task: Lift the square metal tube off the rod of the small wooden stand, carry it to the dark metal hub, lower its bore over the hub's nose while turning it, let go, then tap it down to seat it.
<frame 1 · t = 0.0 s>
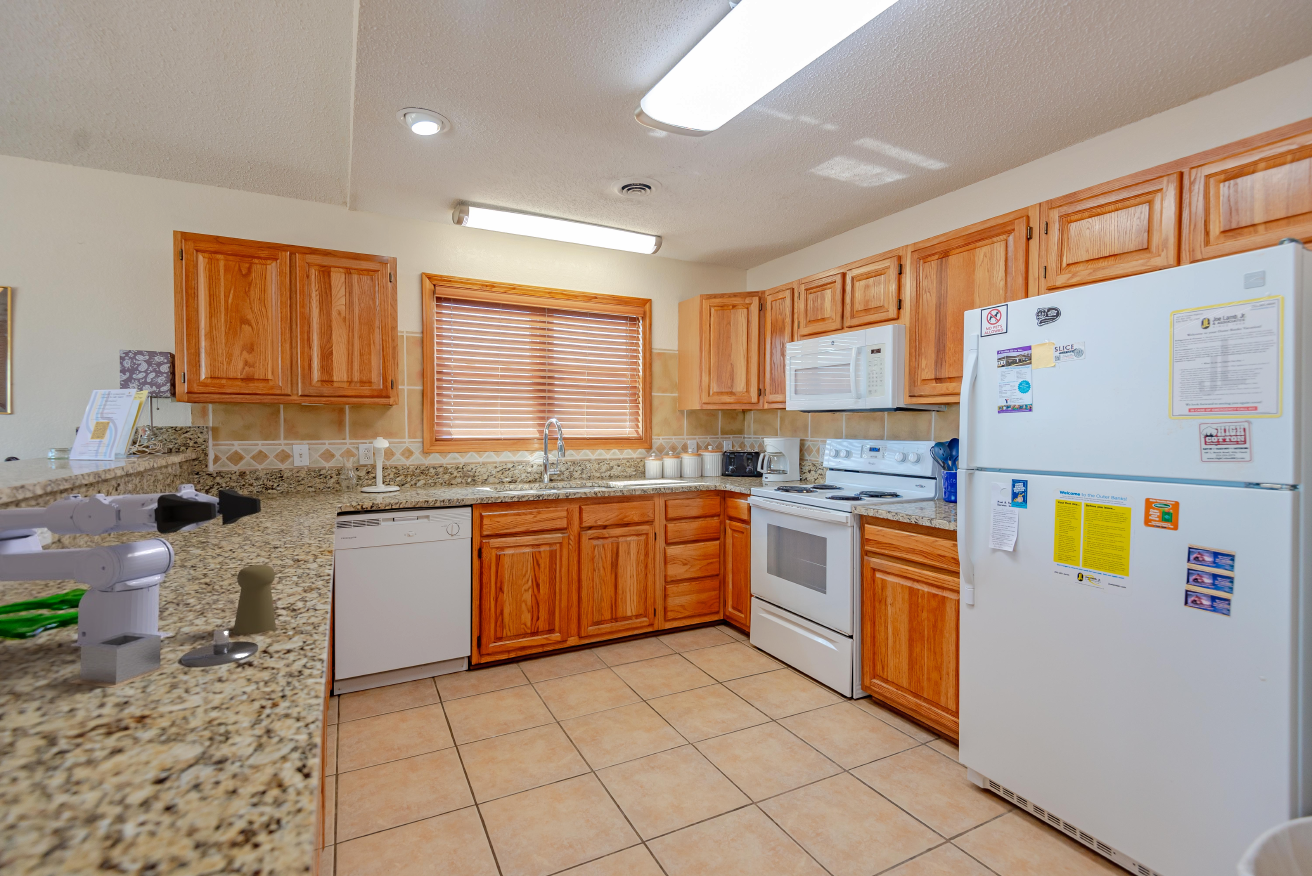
hand: (237, 508, 88), 22 cm above the counter, tool horizontal, fingers open, 7 cm apart
cork: (254, 633, 98), on the counter
square metal tube: (121, 674, 79), point 1 cm above the counter, touching stand
stand: (121, 678, 79), on the counter
hub: (220, 658, 86), on the counter
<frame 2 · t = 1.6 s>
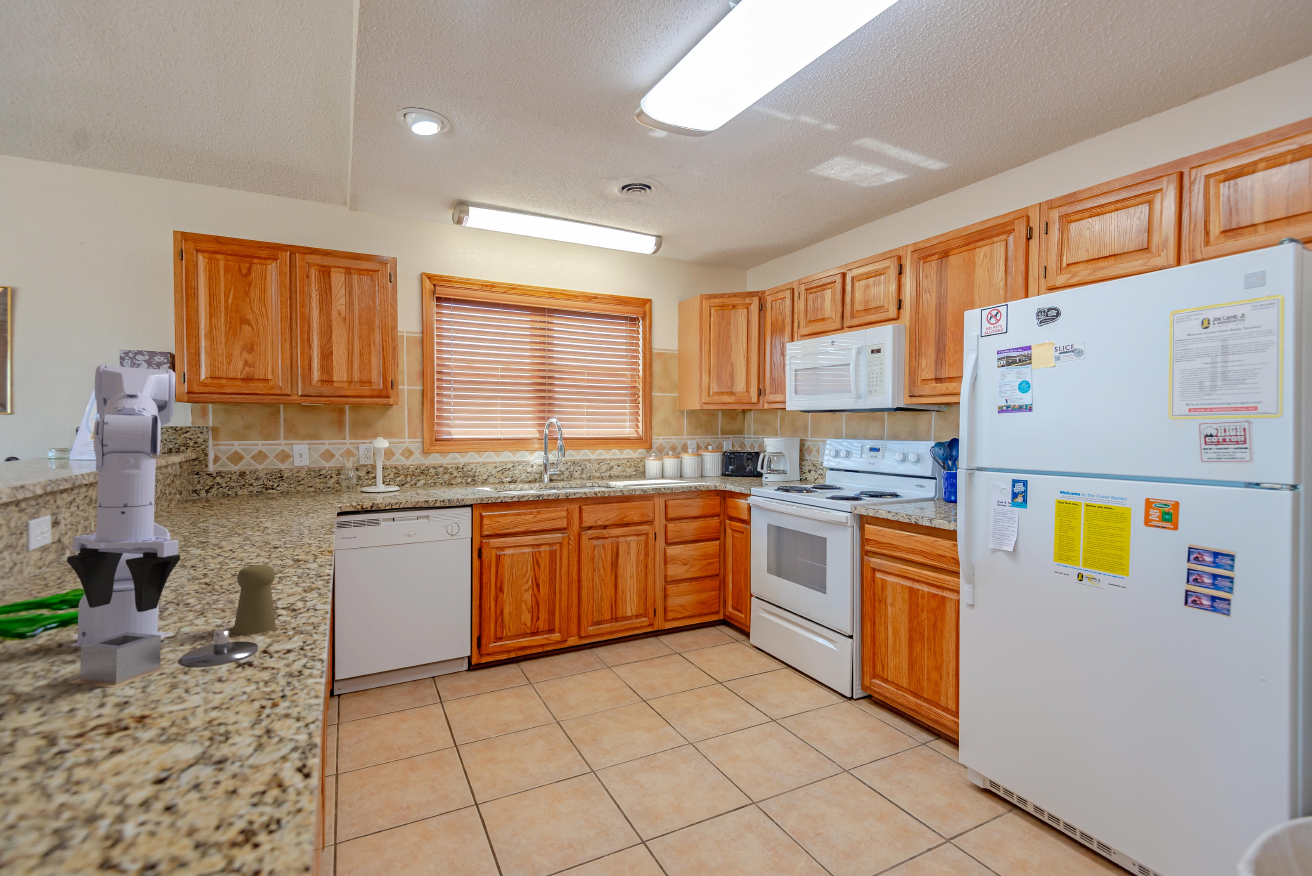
hand: (123, 607, 79), 9 cm above the counter, tool pointing down, fingers open, 7 cm apart
nothing on the counter moved.
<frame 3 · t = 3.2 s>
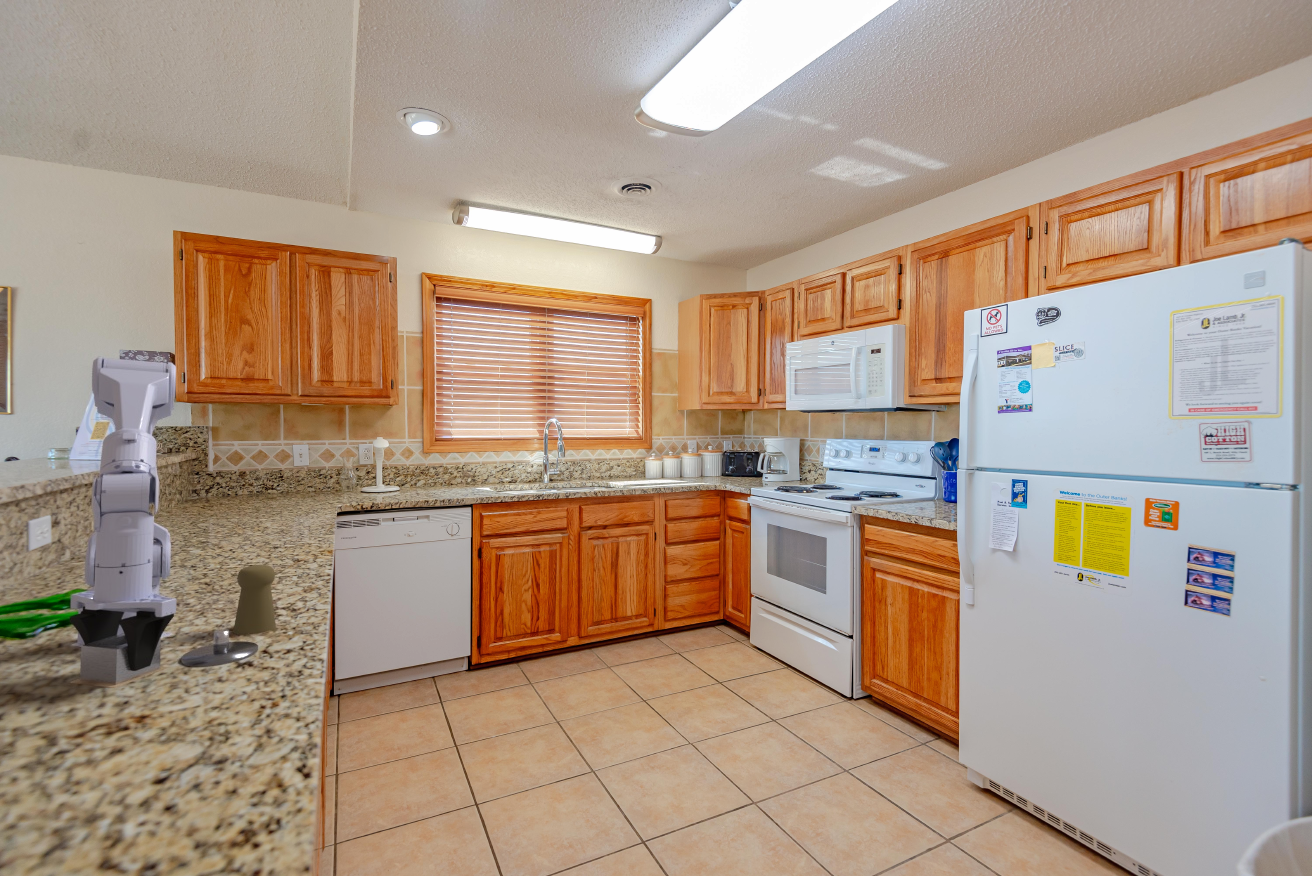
hand: (121, 666, 79), 2 cm above the counter, tool pointing down, fingers closed on square metal tube, 6 cm apart
square metal tube: (121, 674, 79), point 1 cm above the counter, touching gripper, stand
everything else where it was.
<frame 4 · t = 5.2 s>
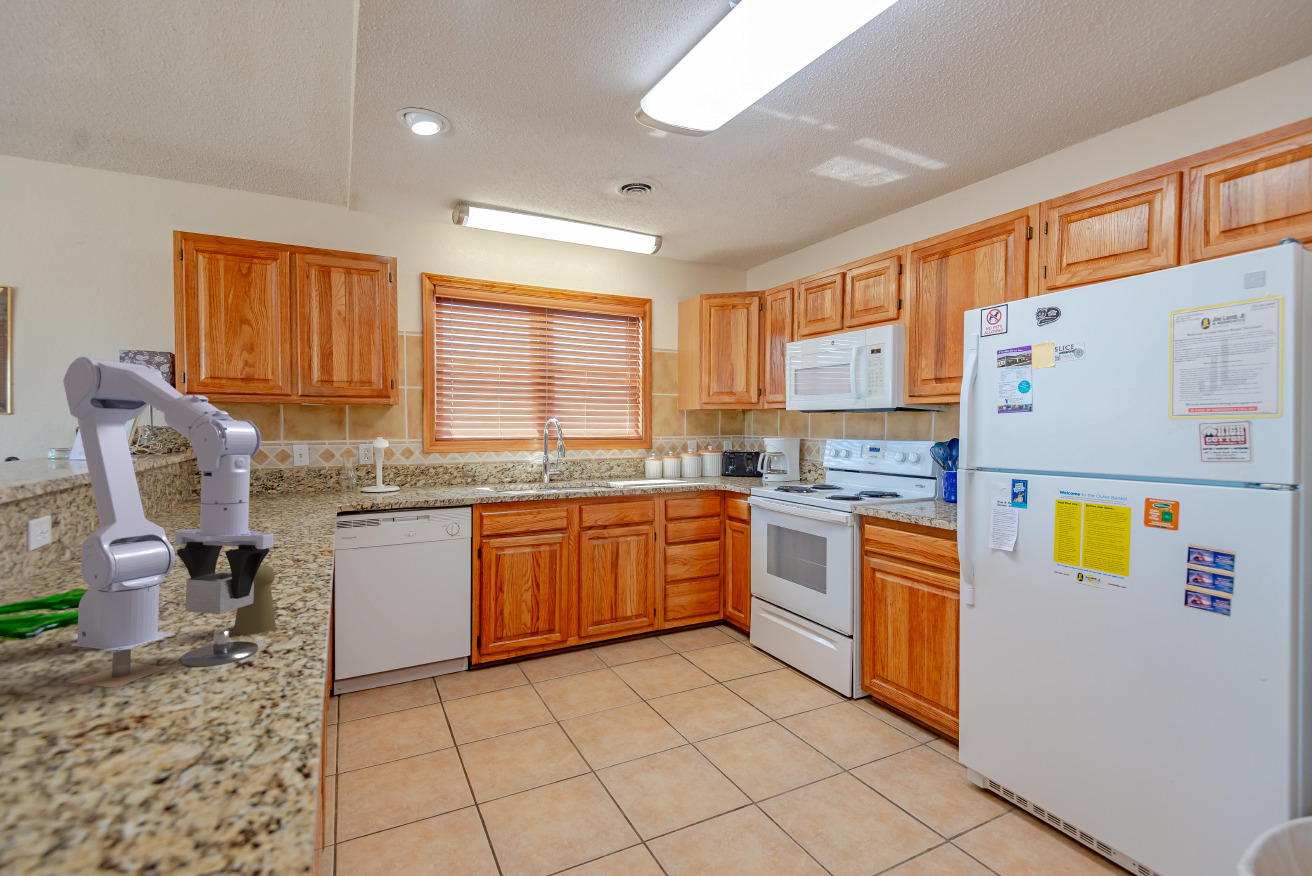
hand: (222, 595, 86), 9 cm above the counter, tool pointing down, fingers closed on square metal tube, 6 cm apart
square metal tube: (220, 607, 86), point 8 cm above the counter, touching gripper
everything else where it was.
when the fingers open (4 cm above the counter, at t = 7.1 s): square metal tube drops 1 cm, resting on hub.
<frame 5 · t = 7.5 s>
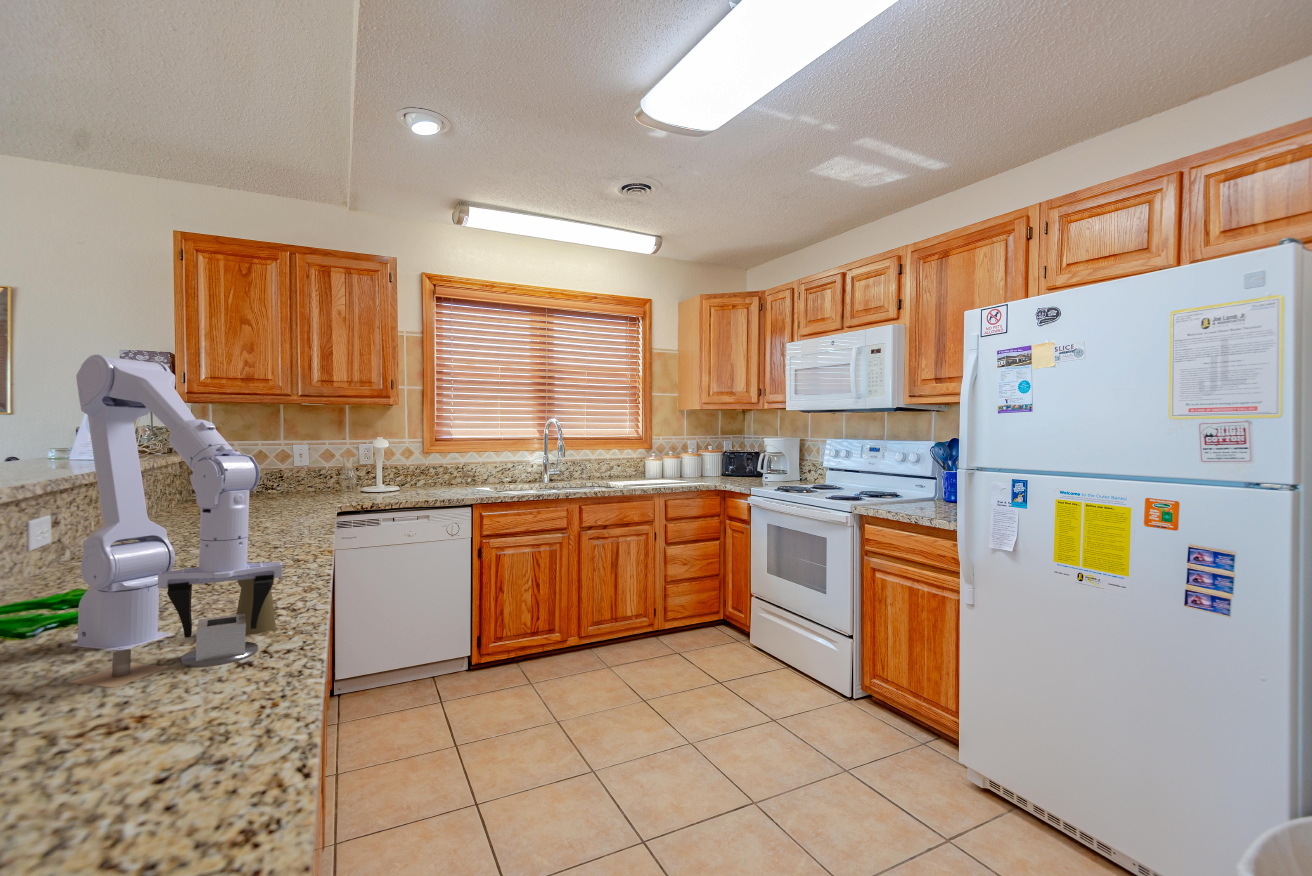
hand: (221, 631, 86), 4 cm above the counter, tool pointing down, fingers open, 7 cm apart
square metal tube: (221, 652, 86), point 1 cm above the counter, touching hub
everything else where it was.
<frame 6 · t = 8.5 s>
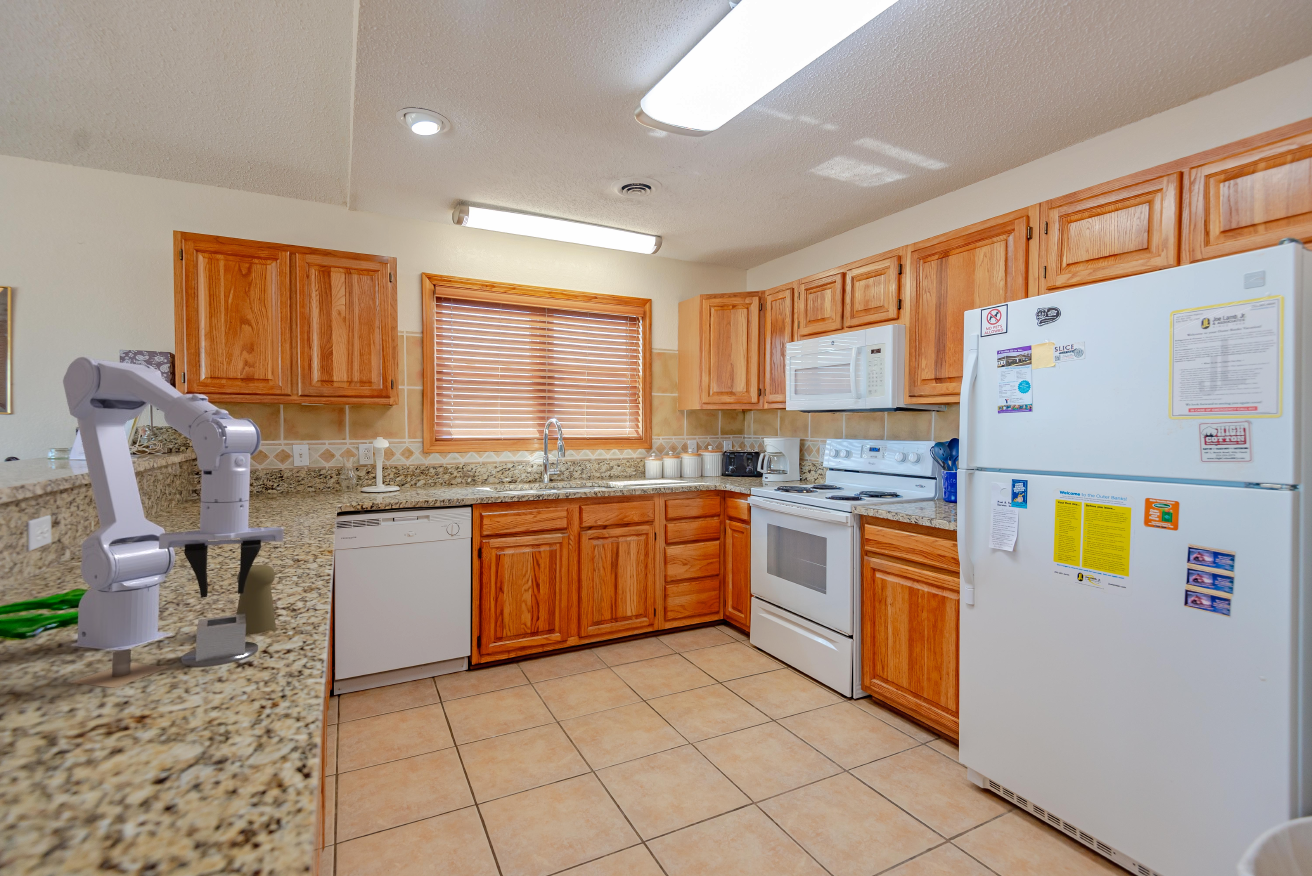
hand: (222, 594, 86), 9 cm above the counter, tool pointing down, fingers open, 4 cm apart
nothing on the counter moved.
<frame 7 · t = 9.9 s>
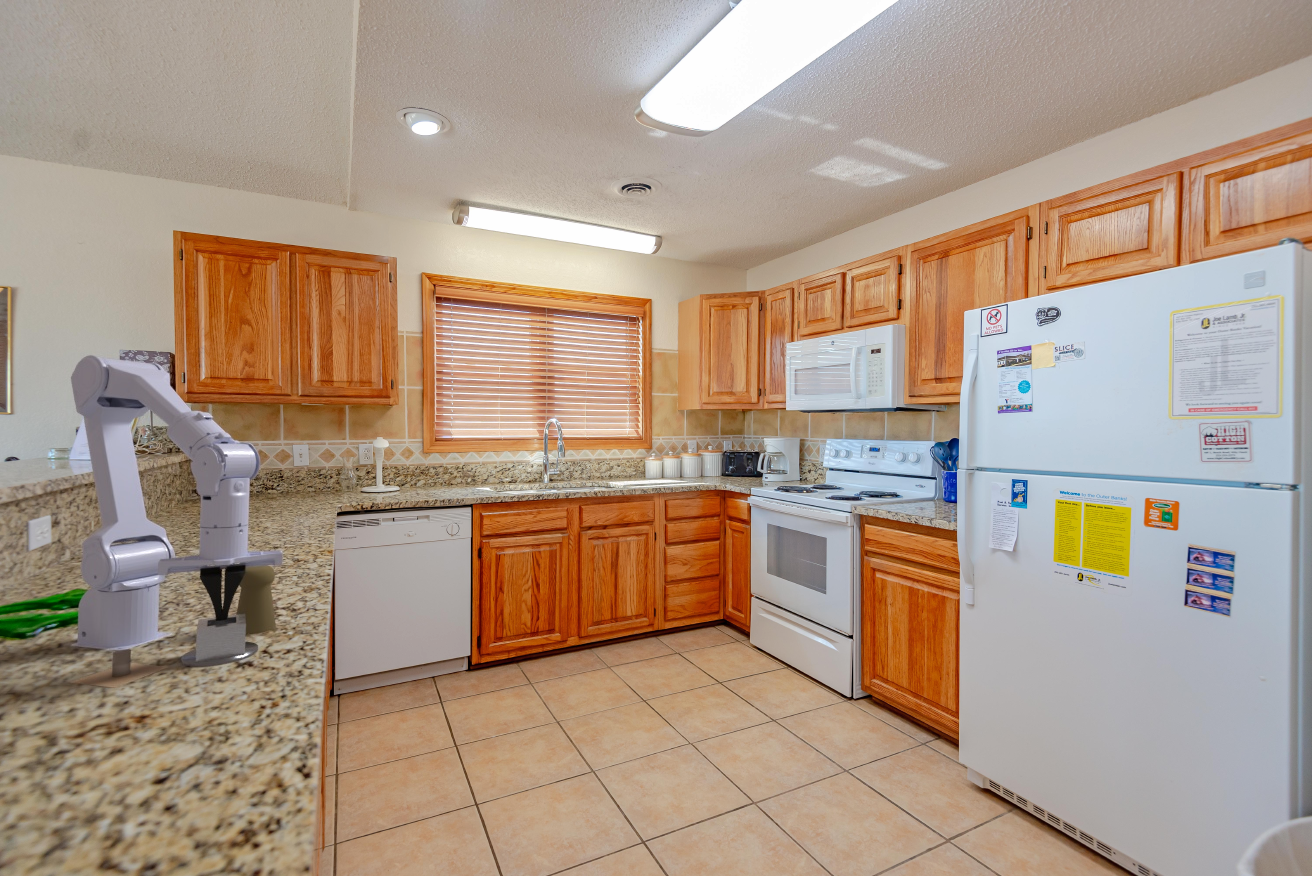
hand: (221, 618, 86), 6 cm above the counter, tool pointing down, fingers closed
nothing on the counter moved.
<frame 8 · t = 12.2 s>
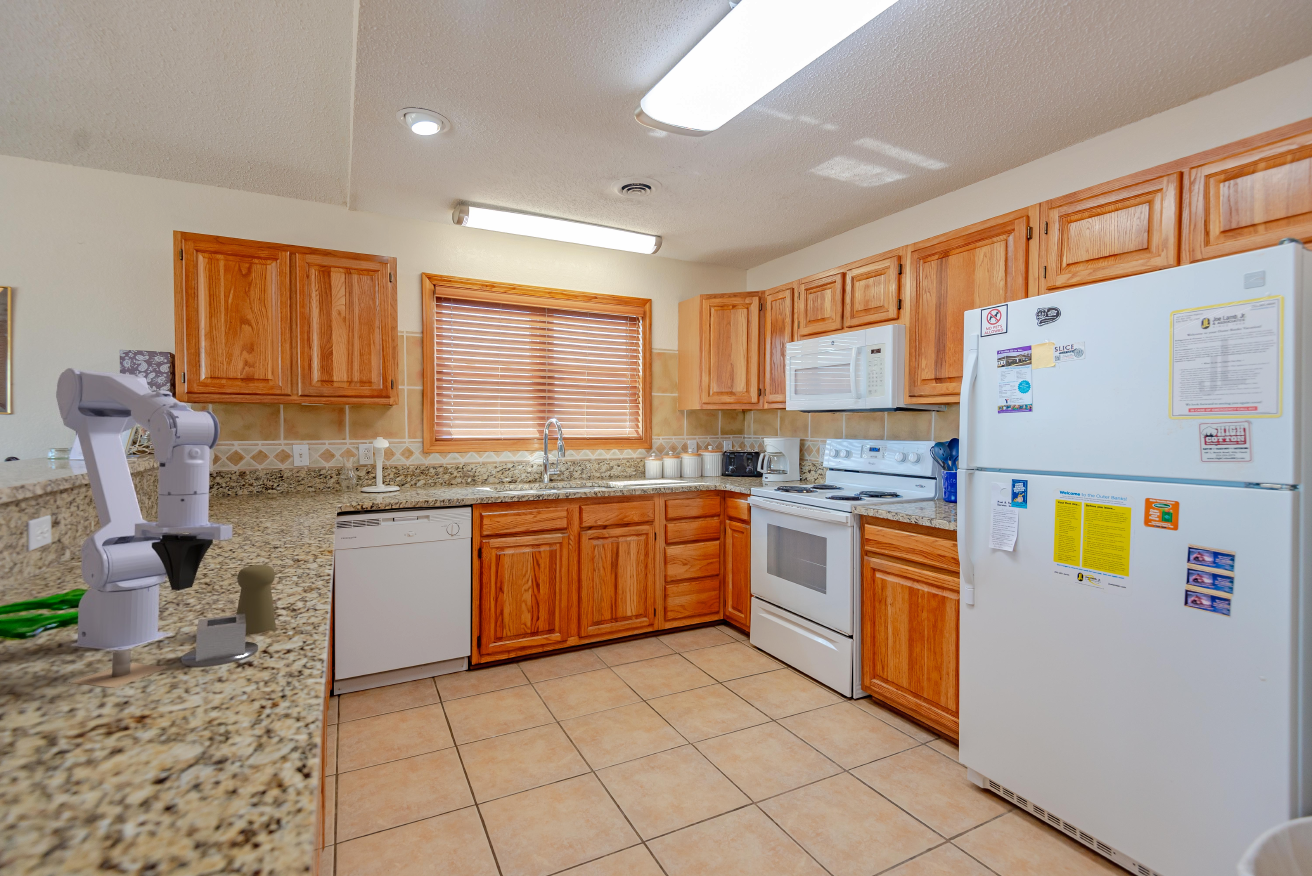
hand: (182, 588, 85), 10 cm above the counter, tool pointing down, fingers closed
nothing on the counter moved.
at the end: square metal tube 0.3 cm off-centre on the hub, point 1.0 cm above the hub's base; square metal tube tilted 0°; the gripper is holding nothing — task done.
